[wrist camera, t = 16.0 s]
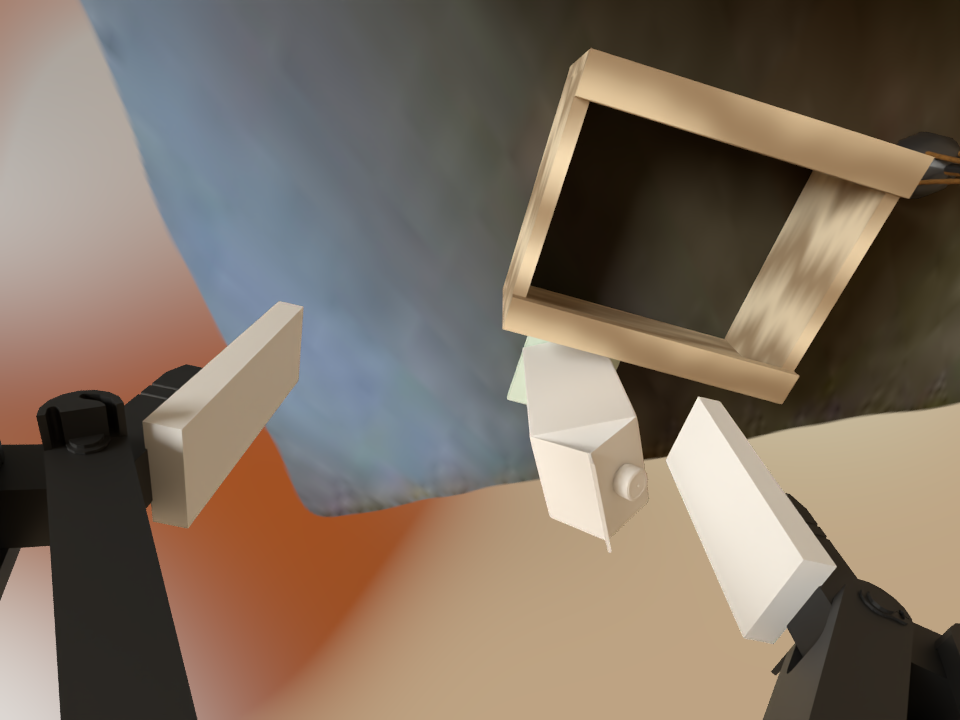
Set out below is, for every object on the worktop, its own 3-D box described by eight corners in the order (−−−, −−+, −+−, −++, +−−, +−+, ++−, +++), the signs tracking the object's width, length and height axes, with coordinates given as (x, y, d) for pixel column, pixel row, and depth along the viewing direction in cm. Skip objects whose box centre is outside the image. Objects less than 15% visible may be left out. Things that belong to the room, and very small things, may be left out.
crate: (570, 66, 38) (590, 48, 29) (837, 150, 39) (934, 157, 30) (502, 289, 45) (502, 329, 36) (729, 351, 47) (781, 404, 38)
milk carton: (536, 410, 50) (554, 561, 32) (521, 346, 47) (532, 474, 30) (609, 396, 49) (666, 544, 31) (597, 330, 46) (654, 452, 29)
